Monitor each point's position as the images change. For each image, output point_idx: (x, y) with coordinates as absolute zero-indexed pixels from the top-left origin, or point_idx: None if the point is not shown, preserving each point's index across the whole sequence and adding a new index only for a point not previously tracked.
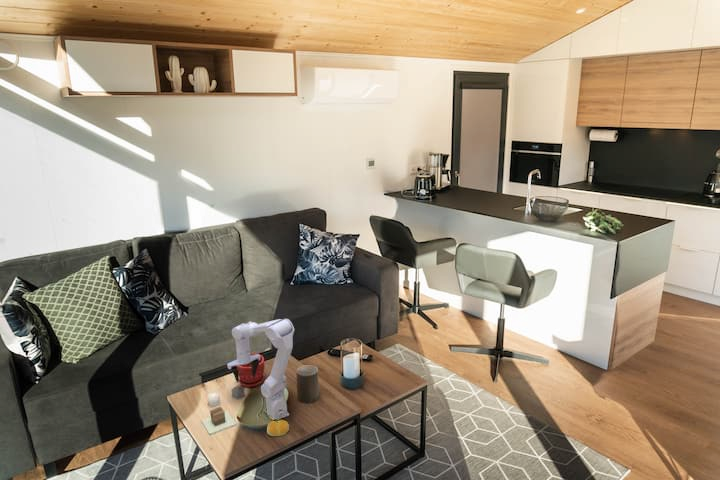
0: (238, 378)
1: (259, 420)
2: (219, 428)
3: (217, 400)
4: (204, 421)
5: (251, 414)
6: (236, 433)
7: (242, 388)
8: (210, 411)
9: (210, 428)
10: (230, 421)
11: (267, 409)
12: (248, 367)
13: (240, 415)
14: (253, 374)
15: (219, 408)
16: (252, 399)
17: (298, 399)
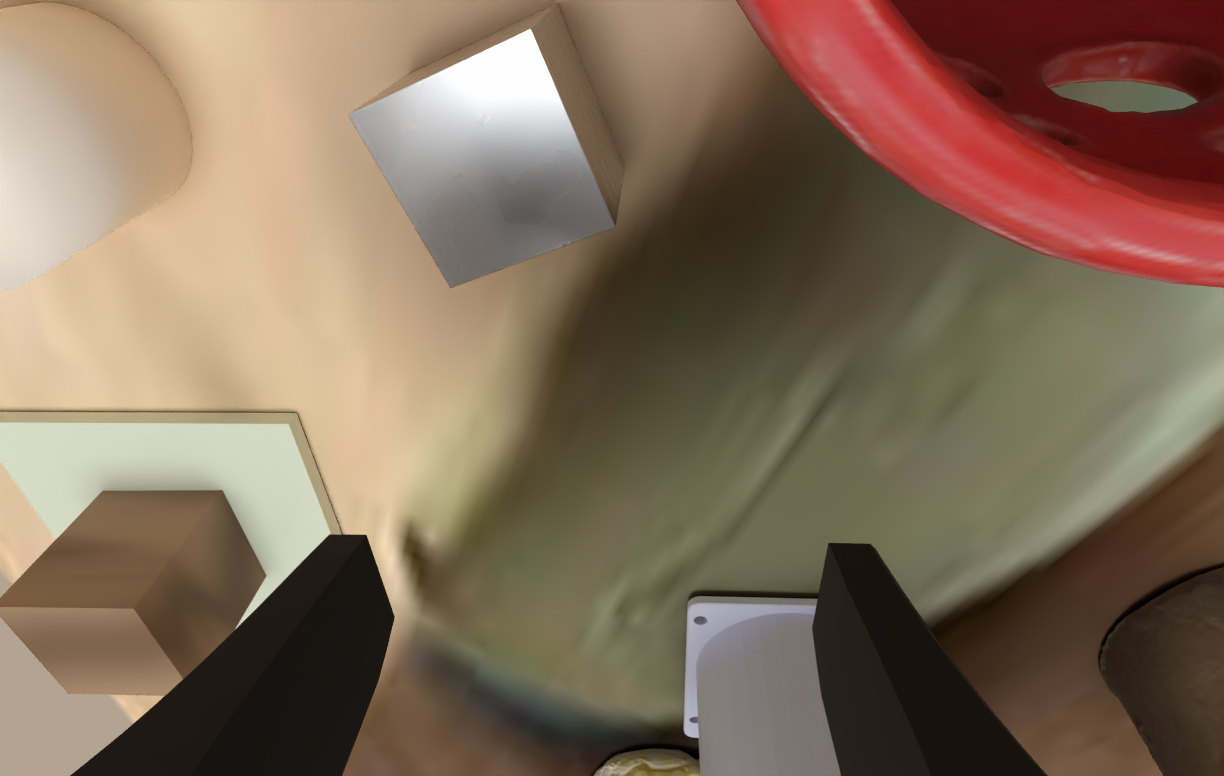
0: (351, 732)
1: (594, 665)
2: None
3: (99, 238)
4: (18, 458)
5: (556, 572)
6: None
7: (576, 228)
8: (4, 612)
9: None
10: None
11: (698, 722)
12: (988, 209)
13: (442, 532)
14: (825, 672)
15: (121, 626)
16: (684, 338)
17: (1117, 643)
